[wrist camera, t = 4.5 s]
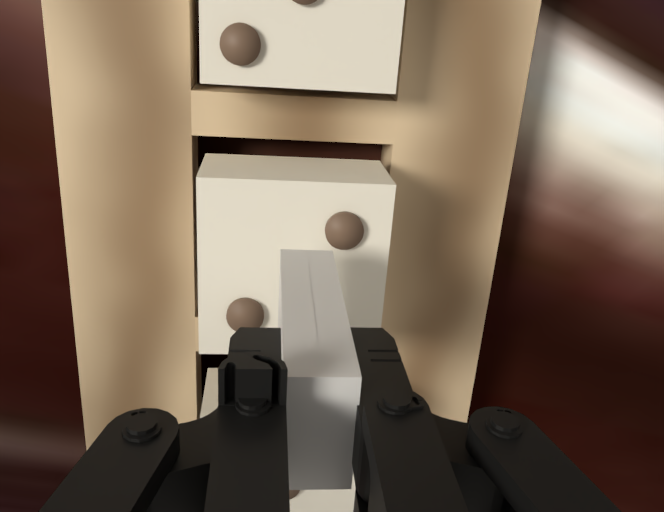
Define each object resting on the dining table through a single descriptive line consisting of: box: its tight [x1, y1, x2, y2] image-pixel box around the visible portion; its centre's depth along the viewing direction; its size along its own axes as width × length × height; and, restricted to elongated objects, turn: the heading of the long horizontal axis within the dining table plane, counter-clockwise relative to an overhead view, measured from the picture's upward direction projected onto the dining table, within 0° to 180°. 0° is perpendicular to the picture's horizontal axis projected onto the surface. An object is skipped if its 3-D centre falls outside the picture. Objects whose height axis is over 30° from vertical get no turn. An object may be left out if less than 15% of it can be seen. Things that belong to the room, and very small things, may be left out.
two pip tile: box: [196, 153, 396, 354], centre depth 21 cm, size 6×6×3 cm
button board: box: [41, 0, 541, 450], centre depth 24 cm, size 16×26×2 cm, turn 176°
